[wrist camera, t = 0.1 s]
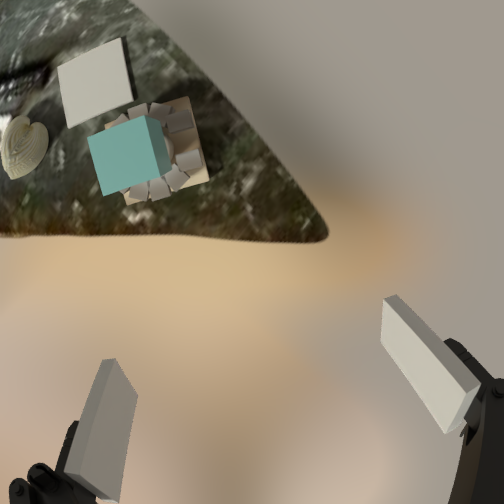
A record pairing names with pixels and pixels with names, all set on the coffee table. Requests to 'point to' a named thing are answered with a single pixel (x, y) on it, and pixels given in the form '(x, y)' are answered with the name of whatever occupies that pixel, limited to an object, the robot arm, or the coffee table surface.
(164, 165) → the plug
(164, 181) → the socket
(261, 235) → the coffee table surface
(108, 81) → the mat
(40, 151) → the seashell
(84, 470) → the robot arm
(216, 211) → the coffee table surface
